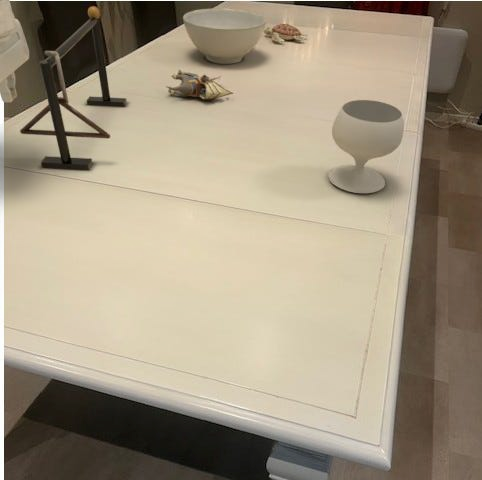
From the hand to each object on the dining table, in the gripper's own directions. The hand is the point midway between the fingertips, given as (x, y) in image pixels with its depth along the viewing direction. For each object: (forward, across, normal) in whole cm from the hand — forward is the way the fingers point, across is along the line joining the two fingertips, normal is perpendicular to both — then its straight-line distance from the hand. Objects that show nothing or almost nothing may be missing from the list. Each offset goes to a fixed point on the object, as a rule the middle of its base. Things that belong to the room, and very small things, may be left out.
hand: (10, 99), depth 92 cm
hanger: (+9, -5, +7) cm, 13 cm away
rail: (+15, -20, +7) cm, 26 cm away
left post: (+14, -39, +7) cm, 42 cm away
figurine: (+15, -48, +32) cm, 59 cm away
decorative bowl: (+15, -84, +36) cm, 93 cm away
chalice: (+16, -3, +70) cm, 71 cm away
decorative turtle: (+15, -113, +58) cm, 128 cm away
